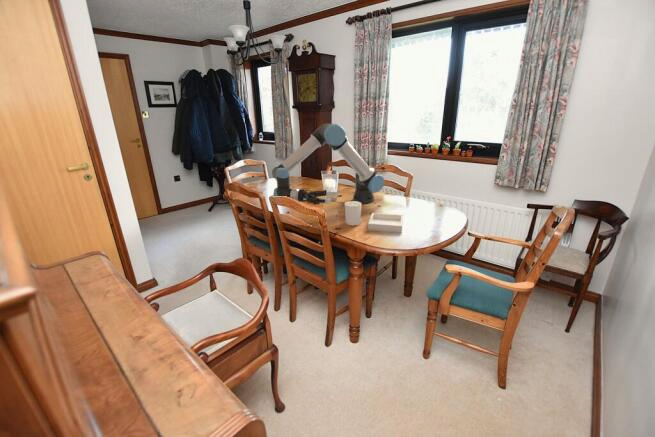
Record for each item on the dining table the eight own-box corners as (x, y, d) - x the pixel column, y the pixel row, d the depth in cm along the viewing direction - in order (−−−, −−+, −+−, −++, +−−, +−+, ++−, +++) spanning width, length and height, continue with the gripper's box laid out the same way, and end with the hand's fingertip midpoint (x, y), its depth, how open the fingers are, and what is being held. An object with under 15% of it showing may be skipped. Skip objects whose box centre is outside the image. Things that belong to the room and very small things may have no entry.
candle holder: (360, 226, 175) (360, 206, 171) (343, 225, 177) (343, 205, 173) (362, 220, 184) (362, 201, 180) (345, 219, 186) (345, 200, 182)
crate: (372, 218, 186) (372, 212, 184) (402, 221, 181) (403, 214, 180) (367, 230, 170) (368, 223, 168) (401, 232, 165) (401, 226, 164)
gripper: (306, 195, 196) (339, 197, 190) (291, 207, 173) (328, 210, 168) (305, 184, 193) (339, 186, 188) (291, 195, 170) (328, 197, 165)
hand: (334, 197), depth 178 cm, fingers open, 13 cm apart
